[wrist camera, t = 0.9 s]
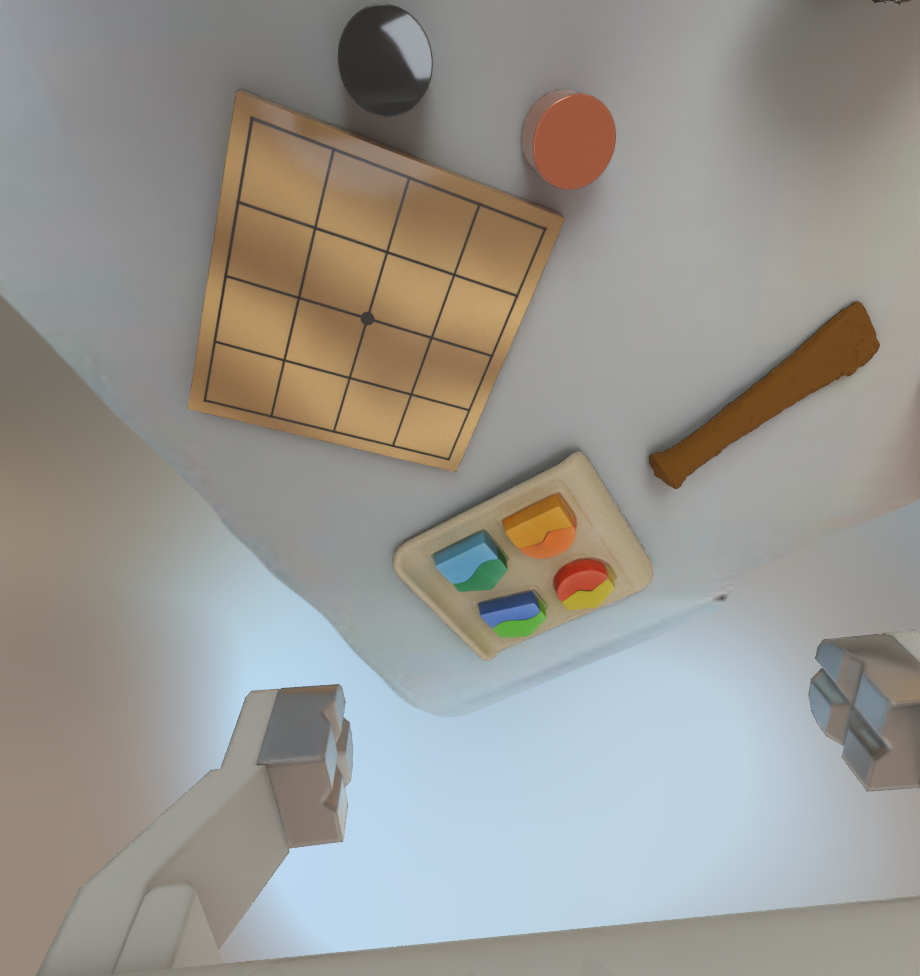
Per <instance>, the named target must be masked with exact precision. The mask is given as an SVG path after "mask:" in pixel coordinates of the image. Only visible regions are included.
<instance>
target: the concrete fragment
mask: <svg viewBox="0 0 920 976" xmlns="http://www.w3.org/2000/svg"><path fill="white" fill-rule="evenodd" d="M872 1H873V2H874V3H877V2H883V1H884V2H885V1H893V2H894V3H897V4H899V5H900V3H901V4H906V3H907V2H909V1H910V0H872ZM885 4H886V3H885Z"/></svg>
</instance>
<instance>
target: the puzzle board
mask: <svg viewBox="0 0 920 976" xmlns="http://www.w3.org/2000/svg"><path fill="white" fill-rule="evenodd" d="M393 567H394V570H395V572H396V574H397V575H398V577H399V578H400V579H401V580H402V581H403V582H404V583H405V584H406V585H407V586H408V587H410V588H411V589H412V590H413V591H414V592H415V593H416V594H417V595H418V596H419V597H420V598H421V599H422V600H423V601H424V602H425V603H426V604H427V605H428V606H429V607H430V608H431V609H432V610H433V611H434V612H435V613H436V614H437V615H438V616H439V617H440V618H441V619H442V620H443V621H444V622H445V623H446V624H447V625H448V626H449V627H450V628H451V629H452V630H453V631H454V632H455V633H456V634H457V635H458V636H459V637H460V638H461V639H462V640H463V641H464V642H465V643H466V644H467V645H468V646H469V647H470V648H471V649H472V650H473V651H474V652H475V653H476V654H477V655H478V656H479V657H480V658H481V659H483V660H486V661H487V660H491V659H492V658H494V657H495V656H496V655H497V654H498V653H499V652H501V651H502V650H503V649H505V648H507V647H510V646H512V645H514V644H517V643H519V642H521V641H524V640H526V639H528V638H531V637H533V636H535V635H538V634H540V633H542V632H545V631H547V630H549V629H552V628H554V627H557V626H559V625H561V624H564V623H566V622H568V621H571V620H573V619H575V618H578V617H580V616H583V615H585V614H587V613H590V612H592V611H594V610H597V609H599V608H601V607H604V606H606V605H608V604H611V603H613V602H615V601H618V600H620V599H622V598H625V597H627V596H629V595H632V594H634V593H636V592H639V591H641V590H643V589H644V588H645V587H647V586H648V585H649V584H650V582H651V580H652V578H653V566H652V563H651V561H650V559H649V557H648V555H647V554H646V552H645V551H644V549H643V547H642V546H641V544H640V543H639V541H638V539H637V538H636V536H635V534H634V533H633V531H632V529H631V528H630V526H629V524H628V523H627V521H626V520H625V518H624V516H623V515H622V513H621V511H620V510H619V508H618V507H617V505H616V503H615V502H614V500H613V499H612V497H611V495H610V494H609V492H608V490H607V489H606V487H605V486H604V484H603V482H602V481H601V479H600V478H599V476H598V474H597V473H596V471H595V469H594V468H593V466H592V465H591V463H590V461H589V460H588V458H587V457H586V455H585V454H584V453H582V452H574V453H573V454H571V455H570V456H569V457H568V458H566V459H565V460H564V461H562V462H561V463H560V464H558V465H556V466H554V467H552V468H550V469H548V470H546V471H544V472H542V473H540V474H538V475H536V476H534V477H532V478H530V479H528V480H526V481H525V482H523V483H521V484H519V485H517V486H515V487H513V488H511V489H509V490H507V491H505V492H503V493H501V494H499V495H497V496H495V497H493V498H491V499H489V500H487V501H485V502H483V503H481V504H479V505H477V506H475V507H473V508H471V509H469V510H467V511H465V512H463V513H461V514H459V515H457V516H455V517H453V518H451V519H449V520H447V521H445V522H443V523H441V524H439V525H437V526H435V527H433V528H432V529H430V530H428V531H426V532H424V533H422V534H420V535H418V536H416V537H414V538H412V539H410V540H408V541H406V542H404V543H403V544H402V545H400V546H399V548H398V549H397V550H396V551H395V554H394V557H393Z"/></svg>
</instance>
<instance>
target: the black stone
mask: <svg viewBox="0 0 920 976" xmlns="http://www.w3.org/2000/svg"><path fill="white" fill-rule="evenodd" d="M338 66H339V72H340V75H341V79H342V81H343V84H344V86H345V88H346V90H347V92H348V93H349V95H350V96H351V97H352V99H353V100H354V101H355V102H356V103H357V104H358V105H359V106H361V107H362V108H363V109H365V110H366V111H368V112H370V113H372V114H375V115H378V116H384V117H392V116H398V115H401V114H404V113H406V112H408V111H409V110H411V109H412V108H414V107H415V106H416V105H417V104H418V103H419V102H420V100H421V99H422V98H423V96H424V95H425V93H426V91H427V89H428V86H429V83H430V80H431V76H432V67H433V60H432V52H431V47H430V44H429V41H428V38H427V36H426V34H425V32H424V30H423V28H422V27H421V25H420V24H419V23H418V21H417V20H416V19H415V18H414V17H413V16H412V15H410V14H409V13H408V12H406V11H405V10H403V9H401V8H399V7H397V6H394V5H389V4H375V5H371V6H368V7H366V8H364V9H362V10H360V11H359V12H358V13H356V14H355V15H354V16H353V17H352V18H351V19H350V21H349V22H348V23H347V25H346V27H345V28H344V31H343V33H342V35H341V39H340V42H339V48H338Z"/></svg>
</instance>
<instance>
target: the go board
mask: <svg viewBox="0 0 920 976" xmlns="http://www.w3.org/2000/svg"><path fill="white" fill-rule="evenodd" d="M564 221H565V218H564V217H563V216H562V215H561V214H560V213H557V212H555V211H552V210H550V209H547V208H544V207H542V206H539V205H537V204H534V203H532V202H529V201H526V200H524V199H521V198H519V197H516V196H513V195H511V194H508V193H506V192H503V191H501V190H498V189H495V188H493V187H490V186H488V185H485V184H483V183H480V182H477V181H475V180H472V179H470V178H467V177H465V176H462V175H459V174H457V173H454V172H452V171H449V170H446V169H444V168H441V167H439V166H436V165H434V164H431V163H428V162H426V161H423V160H421V159H418V158H416V157H413V156H410V155H408V154H405V153H403V152H400V151H398V150H395V149H392V148H390V147H387V146H385V145H382V144H380V143H377V142H374V141H372V140H369V139H367V138H364V137H361V136H359V135H356V134H354V133H351V132H349V131H346V130H343V129H341V128H338V127H336V126H333V125H331V124H328V123H325V122H323V121H320V120H318V119H315V118H313V117H310V116H307V115H305V114H302V113H300V112H297V111H295V110H292V109H289V108H287V107H284V106H282V105H279V104H276V103H274V102H271V101H269V100H266V99H264V98H261V97H258V96H256V95H253V94H251V93H248V92H246V91H243V90H238V91H236V97H235V103H234V110H233V116H232V123H231V129H230V136H229V142H228V149H227V156H226V162H225V169H224V175H223V182H222V188H221V195H220V201H219V208H218V215H217V221H216V228H215V234H214V241H213V247H212V254H211V260H210V267H209V274H208V280H207V287H206V293H205V300H204V306H203V313H202V319H201V326H200V332H199V339H198V346H197V352H196V359H195V365H194V372H193V378H192V385H191V391H190V398H189V405H188V409H191V410H196V411H200V412H204V413H208V414H213V415H217V416H221V417H225V418H230V419H234V420H238V421H242V422H246V423H251V424H255V425H259V426H263V427H268V428H272V429H276V430H280V431H285V432H289V433H293V434H297V435H301V436H306V437H310V438H314V439H318V440H323V441H327V442H331V443H335V444H340V445H344V446H348V447H352V448H356V449H361V450H365V451H369V452H373V453H378V454H382V455H386V456H390V457H395V458H399V459H403V460H407V461H411V462H416V463H420V464H424V465H428V466H433V467H437V468H441V469H445V470H450V471H454V472H456V471H457V469H458V466H459V464H460V462H461V460H462V457H463V455H464V453H465V450H466V448H467V446H468V443H469V441H470V439H471V436H472V434H473V432H474V429H475V427H476V425H477V422H478V420H479V418H480V416H481V413H482V411H483V409H484V406H485V404H486V402H487V399H488V397H489V395H490V392H491V390H492V388H493V385H494V383H495V381H496V378H497V376H498V374H499V372H500V369H501V367H502V365H503V362H504V360H505V358H506V355H507V353H508V351H509V348H510V346H511V344H512V341H513V339H514V337H515V334H516V332H517V330H518V328H519V325H520V323H521V321H522V318H523V316H524V314H525V311H526V309H527V307H528V304H529V302H530V300H531V297H532V295H533V293H534V290H535V288H536V286H537V284H538V281H539V279H540V277H541V274H542V272H543V270H544V267H545V265H546V263H547V260H548V258H549V256H550V253H551V251H552V249H553V246H554V244H555V242H556V240H557V237H558V235H559V233H560V230H561V228H562V226H563V223H564Z"/></svg>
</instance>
